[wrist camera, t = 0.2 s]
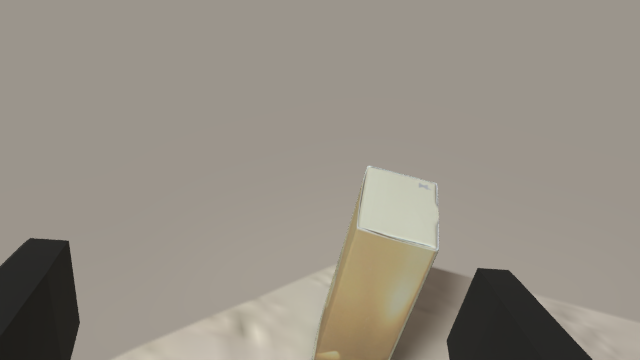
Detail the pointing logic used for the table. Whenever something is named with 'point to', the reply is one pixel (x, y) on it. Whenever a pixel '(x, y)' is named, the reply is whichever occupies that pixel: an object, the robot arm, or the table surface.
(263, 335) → the table surface
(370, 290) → the skincare box
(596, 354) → the table surface
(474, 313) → the robot arm
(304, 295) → the table surface
